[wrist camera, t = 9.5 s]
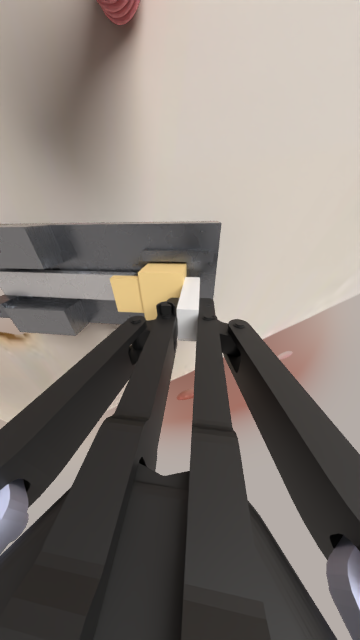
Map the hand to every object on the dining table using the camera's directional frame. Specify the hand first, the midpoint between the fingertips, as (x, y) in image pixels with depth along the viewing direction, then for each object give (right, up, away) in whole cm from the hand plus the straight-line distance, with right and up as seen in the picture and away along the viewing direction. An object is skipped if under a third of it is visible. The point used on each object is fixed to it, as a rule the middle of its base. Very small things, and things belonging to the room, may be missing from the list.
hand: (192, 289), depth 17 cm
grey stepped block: (-11, +4, +6) cm, 13 cm away
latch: (-4, +1, +2) cm, 4 cm away
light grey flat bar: (-15, +1, +3) cm, 15 cm away
